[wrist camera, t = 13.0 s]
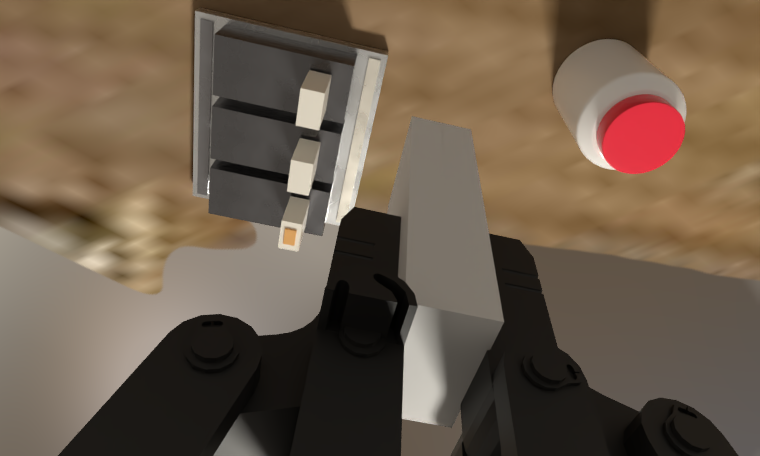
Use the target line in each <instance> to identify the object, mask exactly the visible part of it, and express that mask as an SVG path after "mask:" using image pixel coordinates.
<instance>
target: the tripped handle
mask: <svg viewBox="0 0 760 456" xmlns="http://www.w3.org/2000/svg"><path fill="white" fill-rule="evenodd" d="M309 202H310V200H307V199H302V198H298V197H293V196H290V199H289V202H288V204H287V207H286V210H285V213H284V215H283V218H282V222H281V230H280V237H279V245H278V248H282V249H288V250H293V251H298V250H299V247H300V244H301V240H302V237H303V233H304V230H305V227H306V221H307V215H308V208H309Z"/></svg>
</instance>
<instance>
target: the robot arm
mask: <svg viewBox="0 0 760 456" xmlns="http://www.w3.org/2000/svg"><path fill="white" fill-rule="evenodd" d="M460 410H461V419H462V435H461V437H460V439H459V440H458V442H457V444H456V446H455V448H454V450H453V452H452V454H451V456H738V455H737V453H736V452H735V451H734V449H733V448H732V446H731V445H730V444H729V442H728V441H727V440H726V438H725V437H724V436H723V434H722V433H721V432H720V431H719V430H718V429H717V428H716V427H715V426H714V424H713V423H712V422H711V421H710V420H709V419H707V418H706V417H705V416H703V415H702V414H701V413H699V412H698V411H696V410H695V409H694V408H692V407H690V406H688V405H685V404H683V403H681V402H679V401H676V400H671V399H665V398H658V399H654V400H650V401H648V402H647V403H646V404H645V406H644V407H643V408H642V409H641V411H640V412H639V411H636V410H634V409H632V408H630V407H628V406H626V405H623V404H621V403H619V402H617V401H615V400H613V399H610V398H608V397H606V396H604V395H602V394H600V393H598V392H597V391H595V390H593V389H591V388H590V387H589V386H588V383H587V380H586V378H585V376H584V374H583V372H582V370H581V368H580V367H579V365H578V364H577V363H576V362H575V361H574V360H573V359H572V358H571V357H570V356H569V355H568V354H567V353H565V352H563V351H562V350H560V349H559V348H558V347H557V343H556V339H555V336H554V332H553V328H552V324H551V321H550V318H549V313H548V310H547V306H546V302H545V299H544V295H543V294H542V288H541V284H540V280H539V279H538V273H537V269H536V265H535V262H534V258H533V256H532V255H531V254H530V253H529V251H528V250H527V249H526V248H525V246H524V245H523V244H522V242H521V241H520V240H517V239H512V238H507V237H503V236H498V235H493V234H489V231H488V226H487V220H486V214H485V208H484V202H483V197H482V191H481V185H480V179H479V173H478V168H477V162H476V156H475V150H474V144H473V139H472V133H471V129H466V128H462V127H458V126H453V125H449V124H444V123H440V122H435V121H431V120H426V119H422V118H417V117H413V116H412V118H411V122H410V126H409V130H408V133H407V137H406V141H405V145H404V149H403V152H402V156H401V160H400V164H399V167H398V171H397V175H396V179H395V183H394V186H393V190H392V194H391V198H390V202H389V205H388V214H385V213H381V212H376V211H371V210H366V209H362V208H357V207H353V208H352V209H351V210H350V211H349V212H348V213H347V214H346V215H345V216H344V217H343V218H342V219H341V222H340V226H339V231H338V236H337V240H336V245H335V249H334V254H333V259H332V263H331V268H330V273H329V277H328V282H327V286H326V287H325V291H324V296H323V301H322V306H321V310H320V312H319V314H318V315H317V316H316V318H315V319H314V320H313V321H312V322H311V323H309V324H308V325H306V326H305V327H303V328H301V329H298V330H296V331H293V332H289V333H283V334H277V335H263V336H258V335H257V334H256V332H255V331H254V329H253V328H252V327H251V326H249V325H248V324H246V323H245V322H243V321H241V320H239V319H238V318H234V317H230V316H225V315H221V314H215V315H201V316H198V317H195V318H192V319H189V320H187V321H184V322H182V323H181V324H180V325H178V326H177V327H176V328H174V329H173V330H172V331H170V332H169V333H168V334H167V335H166V337H165V338H164V339H163V340H162V341H161V342H160V343H159V344H158V346H157V347H156V348H155V349H154V350H153V351H152V352H151V353H150V354H149V355H148V356H147V358H146V359H145V360H144V361H143V362H142V363H141V364H140V365H139V366H138V368H137V369H136V370H135V371H134V372H133V373H132V374H131V375H130V376H129V378H128V379H127V380H126V381H125V382H124V383H123V384H122V385H121V387H119V389H118V390H117V391H116V392H115V393H114V394H113V395H112V396H111V398H110V399H109V400H108V401H107V402H106V403H105V404H104V405H103V406H102V407H101V409H100V410H99V411H98V412H97V413H96V414H95V415H94V416H93V417H92V419H91V420H90V421H89V422H88V423H87V424H86V425H85V426H84V428H83V429H82V430H81V431H80V432H79V433H78V434H77V435H76V436H75V437H74V439H73V440H72V441H71V442H70V443H69V444H68V445H67V446H66V447H65V448H64V449H63V451H62V452H61V453H60V454H59V455H58V456H401V430H402V418H403V419H408V420H413V421H418V422H424V423H429V424H435V425H440V426H445V427H452V426H453V424H454V422H455V420H456V417H457V416H458V414H459V412H460Z"/></svg>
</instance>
